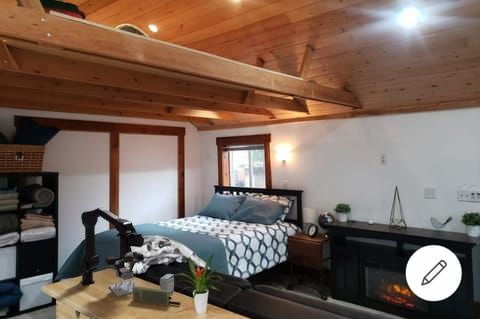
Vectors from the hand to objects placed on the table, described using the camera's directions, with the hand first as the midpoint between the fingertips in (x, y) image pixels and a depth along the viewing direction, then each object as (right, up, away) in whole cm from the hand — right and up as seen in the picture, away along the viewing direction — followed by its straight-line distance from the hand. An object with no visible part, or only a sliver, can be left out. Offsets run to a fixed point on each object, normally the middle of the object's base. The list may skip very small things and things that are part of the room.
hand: (124, 275), depth 183 cm
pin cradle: (0, -7, 0) cm, 7 cm away
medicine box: (+24, -8, -6) cm, 25 cm away
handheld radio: (+21, -8, -18) cm, 29 cm away
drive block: (0, -1, 0) cm, 1 cm away
